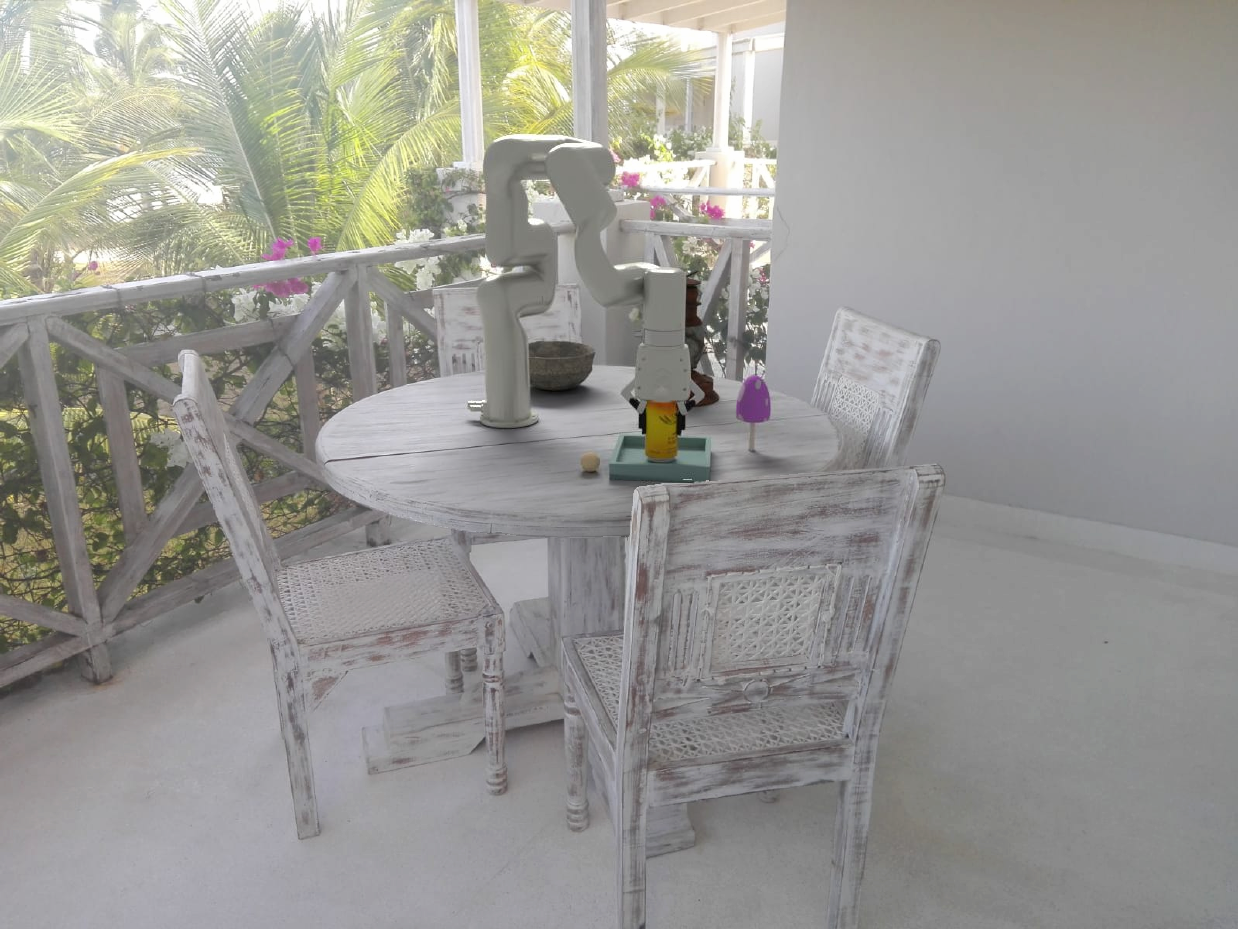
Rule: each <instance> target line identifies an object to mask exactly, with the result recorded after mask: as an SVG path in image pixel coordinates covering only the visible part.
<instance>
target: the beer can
mask: <svg viewBox="0 0 1238 929" xmlns="http://www.w3.org/2000/svg"><path fill="white" fill-rule="evenodd" d="M660 387H661V388H658V387H657V388H658V389H656V390H655V400H652V401H647V404H646V406H645V408H646V434H645V455H646V456H647V457H648V459H649V460H651V461H654V462H669V461H672V460H674V458H675V457H676V456H677V449H678V435H677V423H678V412H679V407H678V405H677V402H672V401H669V400H668V390H667V388H663V386H660Z"/></svg>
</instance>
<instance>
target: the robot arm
mask: <svg viewBox="0 0 1238 929" xmlns="http://www.w3.org/2000/svg"><path fill="white" fill-rule="evenodd" d="M482 161H483V162H482V176H483V183H484V188H485V189H484V190H485V229H484V230H485V233H484V234H485V235H484V236H485V237H484V242H485V243H484V245H485V247H484V248H485V249H484V250H485V256H486V259H487V260H488V263H489V264H490V265H492V266H493V267H496V268H499V269H509V268H510V269H511V268H519V267H521V268H522V271H521V270H520V271H512V272H505V273H498V274H497V273H496V274H493V275H490V276H487V277H486V278H485V279H482V281H481V282H480V283H479V285H478V287H477V290H476V293H475V294H476V295H475V298H476V304H477V309H478V314H479V317H480V322H481V328H482V329H481V330H482V339H483V340H482V341H483V342H482V343H483V355H484V356H483V358H484V376H485V377H484V380H485V399H482V401H477V400H468V401H467V409H468V410H470V412H480V413H481V414H480V416H479V420H480V423H481V424H482V425H484V426H488V427H490V428H496V429H497V428H499V429H513V428H514V429H516V428H522V427H527V426H530V425H533V424H535V423H537V422H538V420H539V413H537V411H535V410H532V408H531V405H532V404H531V385H530V368H529V338H528V335H527V332H526V330H525V329H524V326H523V325H522V322H521V321H520V319H522V318H525V317H533V316H537V315H538V316H539V315H541V314H544V313H546V312H548V311H549V310H550V309H551V308H552V306H553V303H554V300H555V295H556V290H557V289H556V285H557V267H558V247H559V246H558V239H557V236H556V233H555V230H554V229H553V227H552V226H551V224H550V223H548V221H546V220H544V219H542V218H537V217H536V218H534V217H531V218H529V198H528V195H527V192H526V189H525V187H524V185H523V183H522V181H549V183H550V184H551V186H552V188H553V189H554V192H555V194H556V195H557V198H558V199H559V201H560V203H561V204H562V206H563V208H564V210H565V211H566V213H567V215H568V217H569V219H570V221H571V223H572V224H573V226H574V228H575V232H576V233H575V238H574V246H573V248H574V260H575V261H574V262H575V266H576V269H577V272H578V275H579V276H580V278H581V281H582V282H583V284H584V285H585V288H586V289H587V292H589V294H590V295H591V296H592V298H593V300H594V301H595V302H596V303H597V304H599V305H600V306H602V307H603V308H607V309H617V308H618V309H619V308H623V307H630V306H637V305H642V306H643V308H642V310H643V311H642V313H643V314H642V316H643V318H642V319H643V320H642V327H643V328H641V329H639V330H635V331H634V338H635V339H640V340H641V341H642V342H641V343H640V344H639V345H638V348H637V352H636V360H635V369H634V378H633V379H632V380H631V381H630V382H629V383H628V384H626V386H625V387H624V388H623V389H622V390H621V392H620V395H621V396H622V397H623V398H624V399H625V401H627V402H628V403H629V405H630V406H632V408H633V409H634V410H635V411H636V412H637V414H638V425H637V426H638V427H637V428H638V430H641V435H645V434H646V404H647V401H652V400H655V390H656V389H658V388H661V387H660V386H663V388H667V390H668V400H669V401H672V402H677V405H678V407H679V411H678V423H677V435H678V436H682V431H686V422H687V421H686V419H687V417H686V416H687V414H688V412H690V411H691V410H692V409H693V408H695V407H694V406H695V405H696V404H697V403H698V402H699V401H701V400H702V399H703V398H704V395H705V394H704V392H703V391H702V390H701V389H700V388H699V387H698V386H697V385H696V384H695V383H694V381H693V380H692V379H691V368H690V355H689V348H688V345H687V344H684V342H685V306H686V272H685V271H684V270H683V269H681V268H678V267H670V266H664V267H663V266H659V265H656V264H654V263H651V262H650V263H649V262H644V261H637V262H629V263H621V264H615V265H614V264H612V262H611V261H610V259H609V257H608V256H607V254H606V252H605V250H604V247H603V245H602V242H601V241H602V239H601V232H603V231H604V230H605V229H606V228H607V227H609V226H610V225H611V223H613V221H614V220H615V218H616V216H617V212H618V207H617V205H616V204H615V202H614V199H613V198H612V196H611V195H610V192H608V190H607V188H606V187H608V186H610V185H611V183H612V182H613V181H614V179H615V176H616V173H617V171H616V170H617V166H616V160H615V158H614V155H613V154H612V152H611V151H610V150H609V149H608V148H607V147H606V146H605V145H603V144H601V143H598V142H593V141H588V140H584V139H580V138H579V139H578V138H574V137H570V136H566V135H558V134H527V133H526V134H519V133H518V134H510V135H509V134H508V135H504V136H501V137H499V138H496V139H495V140H493V141H492V142H491V143H490V144H489V145H488V146H487V149H486V151H485V153H484V155H483V160H482ZM657 387H658V388H657ZM633 390H634V395H633V394H632V393H631V392H632V391H633ZM690 390H691V391H692V392H693V393H694V394H695V396H694V397H693V398H691V399H690V400H689V401H688V402H687V403H686V402H685V400H687V399H688V398H689V396H690Z"/></svg>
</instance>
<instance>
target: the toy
mask: <svg viewBox="0 0 1238 929" xmlns="http://www.w3.org/2000/svg"><path fill="white" fill-rule="evenodd" d="M769 391H770V390H769V388H768V385H767V384H766V382H765V381H764V379H763V378H762V377H761V376H759V375H756V374H755V375H754V374H753V375H750V376H748V377H747V378H746V379H744V381H743V383H742V385H741V386H740V389H739V391H738V395H737V399H736V405H735V416H736V419H737V420H738V421H739V422H744V423H749V424H750V427H749V439H748V450H749V451H751V452H752V451H754V450H755V435H756V434H755V433H756V432H755V431H756V430H755V428H756V427H755V426H756V424H758V423H765V422H767V421H769V420H770V418H771V409H772V408H771V407H772V406H771V397H770V392H769Z"/></svg>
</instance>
